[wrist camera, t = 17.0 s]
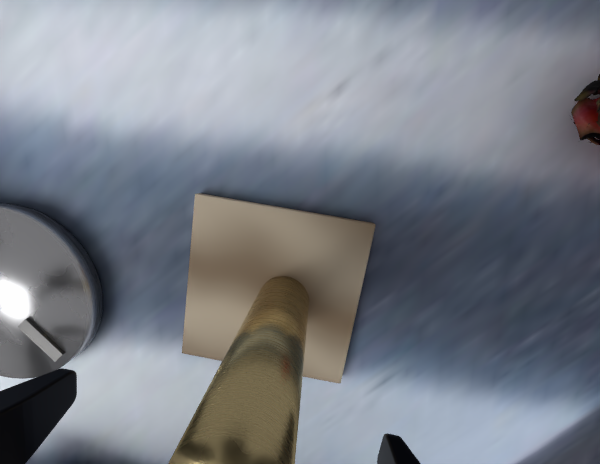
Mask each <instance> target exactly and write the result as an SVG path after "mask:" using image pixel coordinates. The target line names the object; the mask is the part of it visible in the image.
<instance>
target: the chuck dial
mask: <svg viewBox="0 0 600 464" xmlns="http://www.w3.org/2000/svg"><path fill="white" fill-rule="evenodd" d="M102 310H103V296H102V289H101V284H100V281H99V277H98V274H97V272H96V270H95V267H94V265H93V263H92V261H91V259H90V258H89V256H88V254H87V253H86V251H85V250H84V248H83V247H82V246H81V244H80V243H79V242H78V241H77V240H76V239H75V237H74V236H73V235H72V234H71V233H70V232H68V231H67V230H66V229H65V228H64V227H63V226H62V225H60V224H59V223H57V222H56V221H55V220H53V219H52V218H50V217H48V216H46V215H44V214H43V213H41V212H38V211H36V210H33V209H31V208H28V207H24V206H20V205H14V204H0V376H4V377H10V378H34V377H39V376H41V375H44V374H47V373H49V372H52V371H55V370H57V369H59V368H61V367H62V366H63V365H65V364H66V363H67V362H69V361H70V360H71V359H73V358H74V357H76V356H77V355H78V354H79V353H81V352H82V351H83V350H84V349H85V348H86V347H87V346H88V345H89V344H90V343H91V341H92V340H93V338H94V337H95V335H96V333H97V330H98V328H99V325H100V322H101V318H102Z"/></svg>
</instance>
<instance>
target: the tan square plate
mask: <svg viewBox="0 0 600 464" xmlns="http://www.w3.org/2000/svg"><path fill="white" fill-rule="evenodd" d="M374 230H375V224H374V223H371V222H365V221H359V220H353V219H347V218H342V217H336V216H330V215H324V214H318V213H312V212H306V211H301V210H295V209H289V208H283V207H277V206H271V205H265V204H259V203H254V202H248V201H242V200H236V199H230V198H224V197H218V196H213V195H207V194H201V193H199V194H195V202H194V214H193V226H192V238H191V250H190V262H189V274H188V286H187V298H186V310H185V322H184V334H183V346H182V353H184V354H189V355H195V356H200V357H205V358H210V359H215V360H221V361H223V359H224V357H225V355H226V353H227V352H228V350H229V348H230V346H231V344H232V342H233V340H234V338H235V336H236V335H237V333H238V331H239V329H240V327H241V325H242V323H243V321H244V319H245V317H246V316H247V314H248V312H249V310H250V308H251V306H252V304H253V302H254V300H255V299H256V297H257V295H258V293H259V291H260V289H261V287H262V286H263V285H264V284H265V283H266V282H267V281H268V280H270V279H272V278H275V277H279V276H286V277H290V278H293V279H295V280H297V281H299V282H300V283H301V284H302V285H303V286H304V287H305V289H306V291H307V293H308V296H309V310H308V321H307V332H306V343H305V354H304V365H303V377H309V378H314V379H319V380H324V381H329V382H334V383H341V379H342V374H343V370H344V365H345V361H346V356H347V352H348V347H349V343H350V338H351V334H352V329H353V325H354V320H355V316H356V311H357V307H358V302H359V298H360V293H361V289H362V284H363V280H364V275H365V270H366V266H367V261H368V257H369V252H370V248H371V243H372V239H373V234H374Z"/></svg>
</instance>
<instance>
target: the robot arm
mask: <svg viewBox="0 0 600 464" xmlns="http://www.w3.org/2000/svg"><path fill="white" fill-rule="evenodd" d="M76 395H77V375H76V372H75V371H73V370H68V369H57V370H55V371H52V372H49V373H47V374H44V375H41V376H39V377H36V378H34V379H31V380H28V381H26V382H23V383H21V384H18V385H15V386H13V387H10V388H7V389H5V390H2V391H0V464H25V463H26V462H27V461H28V460H29V459H30V457H31V456H32V455H33V454H34V453H35V451H36V450H37V449H38V447H39V446H40V445H41V444H42V442H43V441H44V440H45V439H46V437H47V436H48V435H49V433H50V432H51V431H52V430H53V428H54V427H55V426H56V425H57V423H58V422H59V421H60V419H61V418H62V417H63V416H64V414H65V413H66V412H67V411H68V409H69V408H70V407H71V405H72V404H73V402H74V401H75V398H76ZM377 464H420V462H419V461H418V460H417V458H416V457H415V456H414V454H413V453H412V452H411V450H410V449H409V448H408V446H407V445H406V444H405V442H404V441H403V440H402V438H401V437H399V436H397V435H392V434H385V435H384V436H383V439H382V443H381V447H380V450H379V454H378V459H377Z"/></svg>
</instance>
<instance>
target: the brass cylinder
mask: <svg viewBox="0 0 600 464" xmlns="http://www.w3.org/2000/svg"><path fill="white" fill-rule="evenodd" d="M308 310H309V296H308V293H307V291H306V289H305V287H304V286H303V285H302V284H301V283H300V282H299V281H297V280H295V279H293V278H290V277H286V276H279V277H275V278H272V279H270V280H268V281H267V282H266V283H265V284H264V285H263V286H262V287H261V289H260V291H259V293H258V295H257V297H256V299H255V300H254V302H253V304H252V306H251V308H250V310H249V312H248V314H247V316H246V317H245V319H244V321H243V323H242V325H241V327H240V329H239V331H238V333H237V335H236V336H235V338H234V340H233V342H232V344H231V346H230V348H229V350H228V352H227V353H226V355H225V357H224V359H223V361H222V363H221V365H220V367H219V369H218V370H217V372H216V374H215V376H214V378H213V380H212V382H211V384H210V386H209V387H208V389H207V391H206V393H205V395H204V397H203V399H202V401H201V403H200V405H199V406H198V408H197V410H196V412H195V414H194V416H193V418H192V420H191V422H190V423H189V425H188V427H187V429H186V431H185V433H184V435H183V437H182V439H181V440H180V442H179V444H178V446H177V448H176V450H175V452H174V454H173V456H172V457H171V459H170V461H169V463H168V464H295V453H296V442H297V431H298V420H299V409H300V398H301V387H302V376H303V365H304V354H305V343H306V332H307V321H308Z"/></svg>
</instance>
